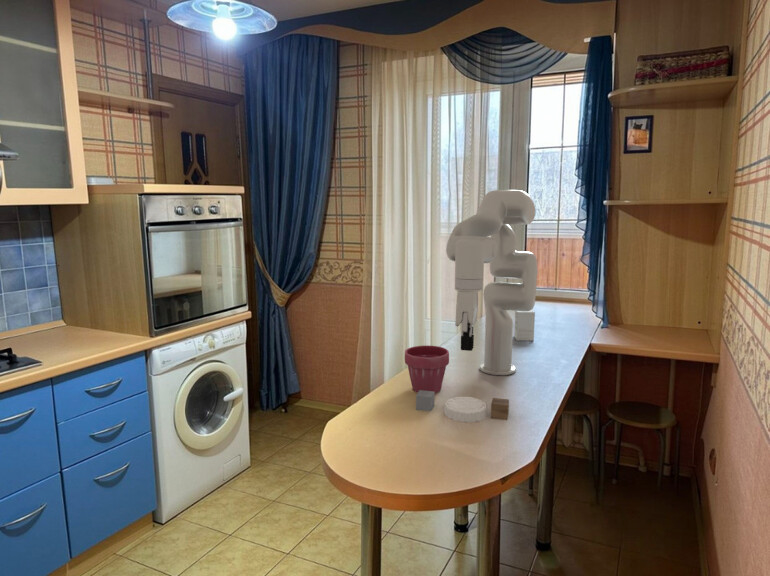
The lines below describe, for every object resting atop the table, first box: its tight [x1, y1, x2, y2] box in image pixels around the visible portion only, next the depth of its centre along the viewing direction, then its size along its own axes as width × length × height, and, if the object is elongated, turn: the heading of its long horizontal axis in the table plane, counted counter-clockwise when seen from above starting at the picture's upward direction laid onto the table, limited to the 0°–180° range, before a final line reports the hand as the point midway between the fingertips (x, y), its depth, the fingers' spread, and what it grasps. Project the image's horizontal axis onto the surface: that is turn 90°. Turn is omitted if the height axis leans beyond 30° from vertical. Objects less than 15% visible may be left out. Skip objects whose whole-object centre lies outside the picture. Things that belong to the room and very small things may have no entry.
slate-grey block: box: [415, 390, 436, 412], centre depth 160 cm, size 4×4×4 cm
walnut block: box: [490, 397, 510, 421], centre depth 153 cm, size 4×4×4 cm
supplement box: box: [513, 309, 536, 342], centre depth 235 cm, size 7×7×13 cm
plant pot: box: [404, 345, 450, 394], centre depth 174 cm, size 14×14×13 cm
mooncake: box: [443, 396, 488, 423], centre depth 155 cm, size 12×12×4 cm
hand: (467, 348), depth 152 cm, fingers closed
